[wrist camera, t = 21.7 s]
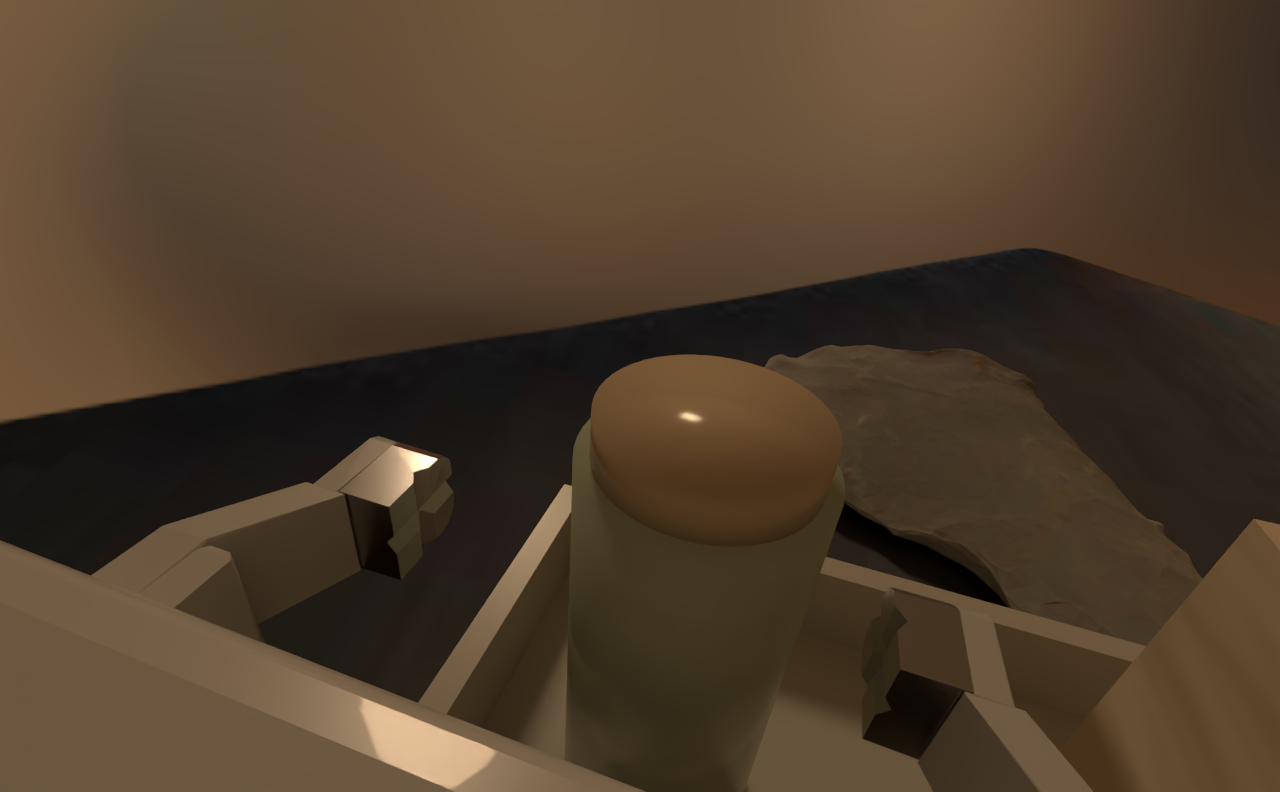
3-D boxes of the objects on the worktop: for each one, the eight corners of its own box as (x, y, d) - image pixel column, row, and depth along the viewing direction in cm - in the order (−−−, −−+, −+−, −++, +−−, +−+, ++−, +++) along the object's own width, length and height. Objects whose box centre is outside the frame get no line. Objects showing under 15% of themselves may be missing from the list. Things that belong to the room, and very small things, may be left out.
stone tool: (685, 394, 38) (960, 825, 17) (689, 345, 36) (999, 759, 15) (947, 365, 42) (1414, 680, 22) (961, 320, 41) (1484, 616, 20)
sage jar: (533, 825, 15) (522, 459, 9) (602, 661, 20) (627, 329, 13) (722, 906, 14) (861, 552, 8) (753, 714, 18) (861, 380, 12)
